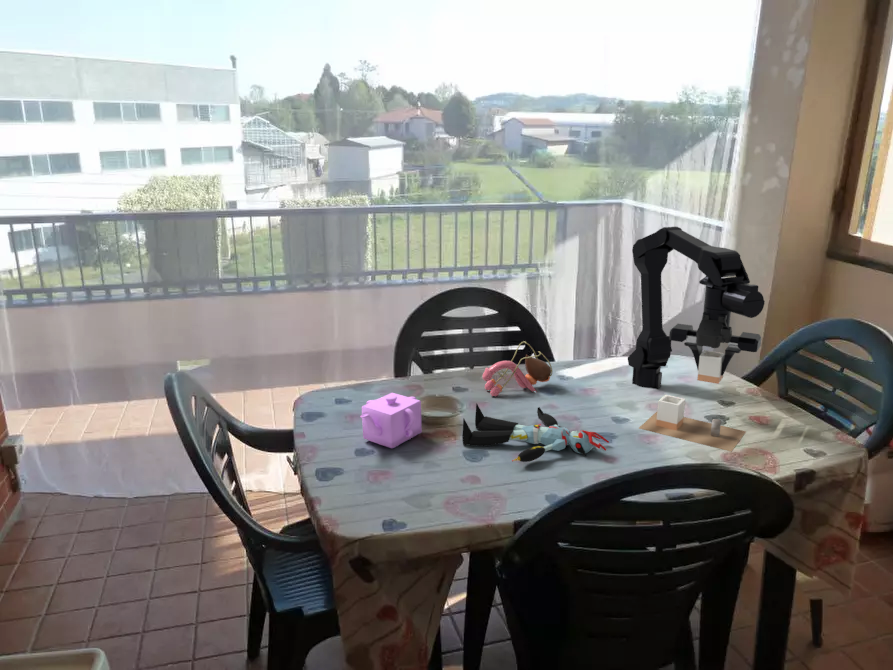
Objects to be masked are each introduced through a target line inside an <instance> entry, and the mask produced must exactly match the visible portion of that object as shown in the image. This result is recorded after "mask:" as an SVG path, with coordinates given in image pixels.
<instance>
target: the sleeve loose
mask: <svg viewBox="0 0 893 670" xmlns="http://www.w3.org/2000/svg"><path fill="white" fill-rule="evenodd" d="M724 356H725V352H719V351H714V350H713V351H712V350H708V349H707V350H705V349H704V350H702V353H701V355H700V358H699V369H697V379H696V380H697V381H700V382H705V383H706V382H707V383H710V384H720V382H721V381H722V380H723V378H724V375H723V376H722V375H721V369H722V365H723V361H724Z"/></svg>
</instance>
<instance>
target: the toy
mask: <svg viewBox="0 0 893 670" xmlns="http://www.w3.org/2000/svg"><path fill="white" fill-rule="evenodd" d="M536 414H537V418H538V420H540V421H542V423H543V424H544V425H545V426H542V423H540V424H539V423H538V424H533V425H523V424H519V422H516V421H509V420H504V419H500V418H495V417H491V416H487V415H486V416H485V415H484V414H483V412H482V410H481V408H480V406H479V405H478V403H477V402H476V403H475V418H474V422H475V424H474V425H475V429H477V430H471V428H470V426H469V425H468V422H467V421H466V420H465V418H464V417H463V420H462V445H463V446H471V447H472V446H473V447H489V446H495V445H496V446H497V445H500V444H505V443H509V441H520V442H521V441H522V442H526V443H529V444H534V445H536V446H530V447H527V448H526V449H523V450H522V451H521V452H519V453H518V455H517V457H516V458H515V459H512V460H511V461H512V462H517V461H519V462H521V463H522V462H523V463H528V462H533V461H534V460H537V459H539V458H541V457H543V455H544V454H545V453H546V452H547V451H551V450H552V451H558V452H559V451H562V450H564V449H566V448H567V447H566V446H568V445H570V447H571V449H572V450H573V451H574V452H575V453H577V454H581V455H583V456H585V457H587V453H589V452H590V451H591V450H592V448H594V447H596V448H597V449H599V450H600V449H602V450H604V452H605V451H607V448H605V446H603V445H602V444H601V442H598V443H596V442H595V441H594V439H593V438H595V439H598V440H601V439H602V440H603V441H604V442H606V443H607V444H609V442H610V441H608V440H607V439H606V438H605V437H604V436H602V435H601V434H599V433H597V432H595V431H588V430H583V429H581V430H580V431H579V430H578V429H577V430H573V431H570V430H569V429H568V428H567V427H560V426H559V425H558V424H559V423H558V421H557V419H556V418H555V417H554V416H553V415H551V414H548V413H545V412H544V411H543V410H542V409H541V407H540V406H538V407H537V410H536ZM537 444H542V445H544V446H540V445H537ZM593 446H594V447H593Z"/></svg>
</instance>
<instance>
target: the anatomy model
mask: <svg viewBox="0 0 893 670" xmlns="http://www.w3.org/2000/svg"><path fill="white" fill-rule="evenodd" d="M522 344H526V345H528V347H529V348H530V349H531V350H532V352H533V353H534V355H532V356H530V355H528V354H525V357H522V358H520V360H519V362H518V364H517V363H515V362H513V361H514V359H515V357H516V355H517V352H518V350H519V348H520V346H521V345H522ZM538 353H539V354H538V355H537V352H536V351H535V350H534V348H533V347H532V346H531V345H530V344H529V343H528V342H527V341H526V340H525V341H524V340H523V341H521V342H520V343H519V344H518V346H517V348H516V350H515V352H514V355H513V356H512V359H511V360H501V361H497V362H495V363H494V364H492V365H491V366H490V367H485V369H484V371H483V373H482V380H483V381H484V382H486V383H485V384H484V390H485V389H486V390H491V391H489V392H490V393H489V394H490V396H491V397H493V396H495V397H498V396H499V395H500V393H502V391H503V389H504V387H506V386H507V384H508V383H509V381H510V380H511V378H512V377H514V379H515V381H516V383H517V385H518V387H520V388H521V389H524V388H526V389H528V390H529V391H531V392H532V393H533V391H536V392H537V390H536V389H535V387H534V385H537V383H538V382H540V383H545V382H549V381H550V379H551V377H552V376H553V368H552V365H551V362H550V361H549V358H547V357H546V356H545V355H544V354H543V353H542V352H541V351H538ZM541 355H542V356H543V358H544V359H545V360H546V361H547V362H546V361H545V360H541V359H539V358H538V357H540V356H541ZM522 360H524V367H525V371H526V372H527V373H526V374H524V373H523V371H522V370H521V368H520V367H519V365H520V364H521V362H522ZM504 369H506V370H504ZM508 370H510V371H511V372H512V374H511V375H510V377H509V378H508V380H507V381H506V382H505V383H504V384H503V386H502V385H501V384H499V383H498V382H499V381H500V380H501V379H502V378H503V379H504V380H506V379H507V377H508V376H509V374H508V373H507V371H508ZM501 372H502V373H501ZM496 373H497V374H498V375H499V376H500V377H499V378H498V379H497V380H496V379H494V378H493V376H494V375H495V374H496ZM506 376H507V377H506ZM486 390H485V391H486Z"/></svg>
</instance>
